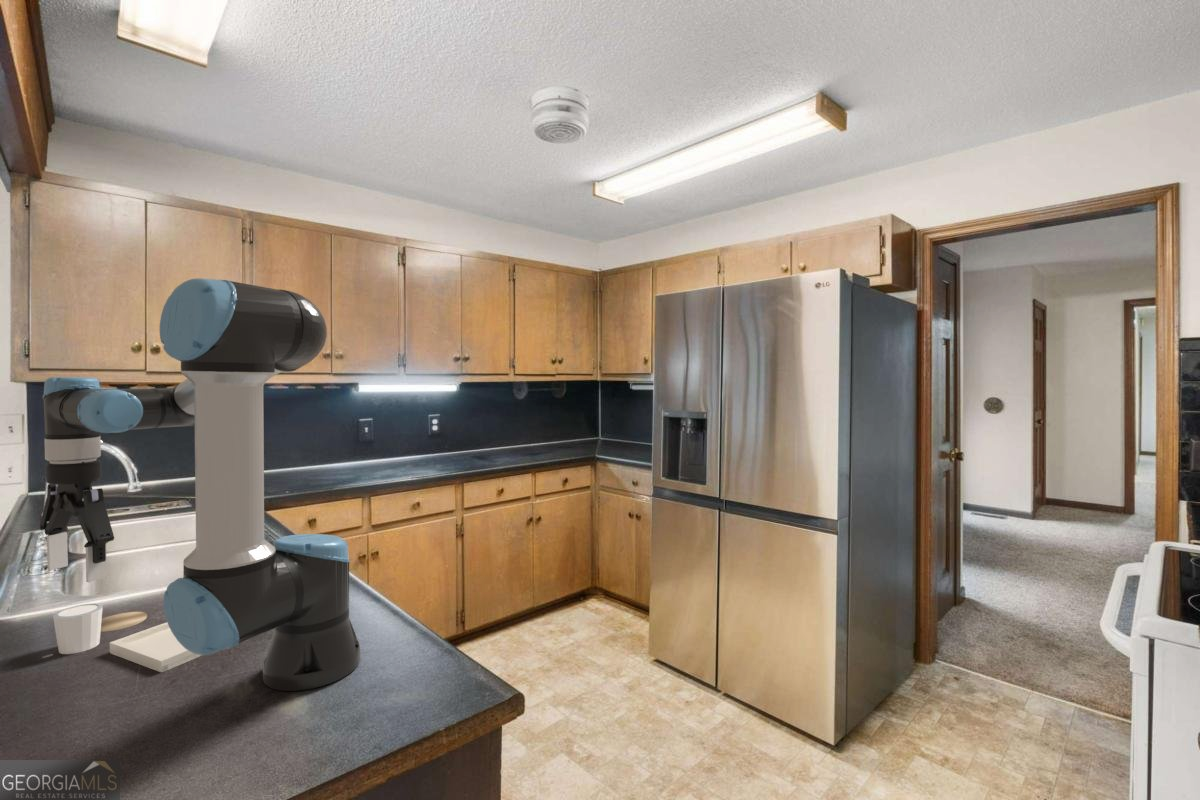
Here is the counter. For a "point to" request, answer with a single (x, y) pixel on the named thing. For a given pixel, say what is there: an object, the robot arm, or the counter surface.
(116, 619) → the cork coaster
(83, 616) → the white cup
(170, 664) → the tray
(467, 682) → the counter surface
